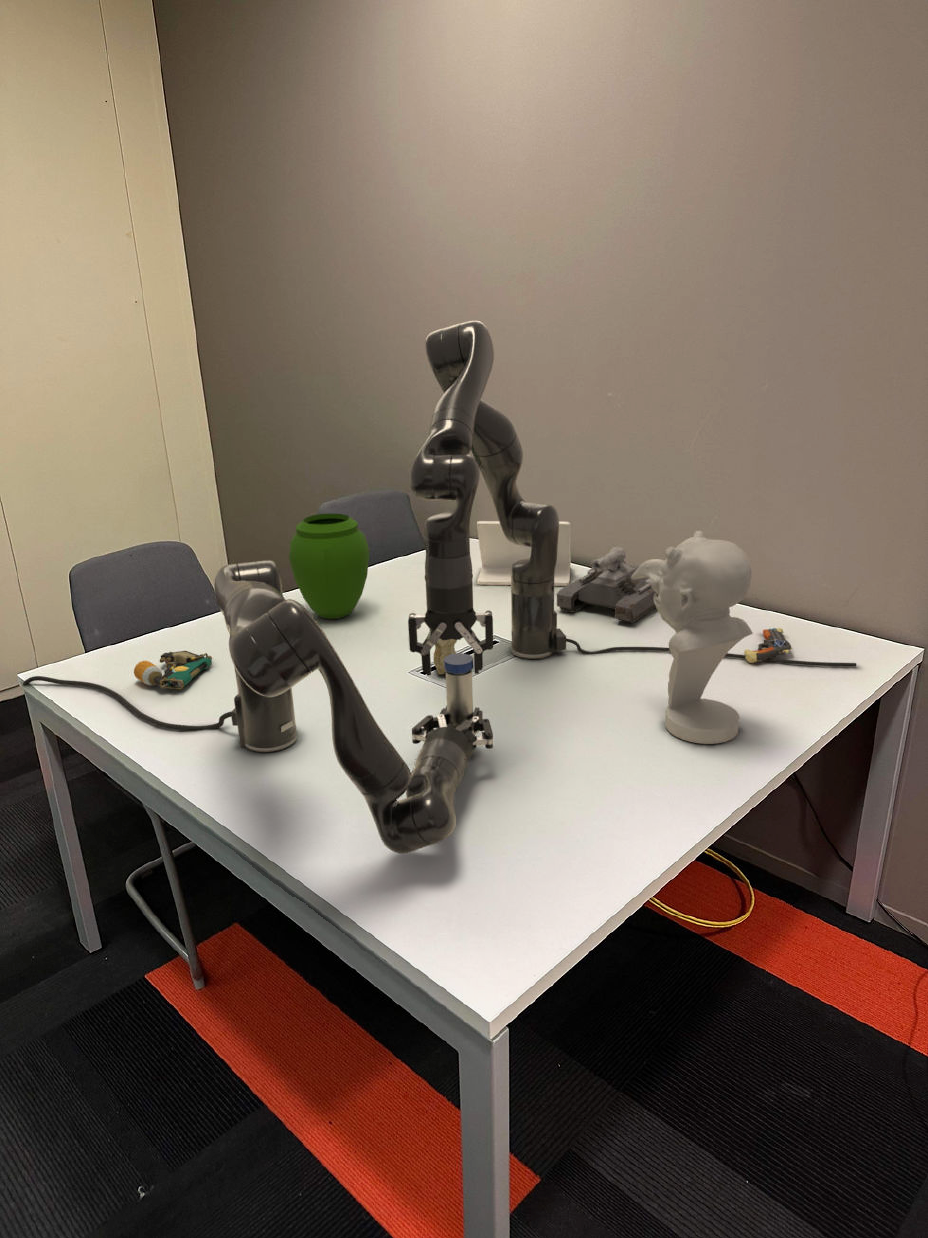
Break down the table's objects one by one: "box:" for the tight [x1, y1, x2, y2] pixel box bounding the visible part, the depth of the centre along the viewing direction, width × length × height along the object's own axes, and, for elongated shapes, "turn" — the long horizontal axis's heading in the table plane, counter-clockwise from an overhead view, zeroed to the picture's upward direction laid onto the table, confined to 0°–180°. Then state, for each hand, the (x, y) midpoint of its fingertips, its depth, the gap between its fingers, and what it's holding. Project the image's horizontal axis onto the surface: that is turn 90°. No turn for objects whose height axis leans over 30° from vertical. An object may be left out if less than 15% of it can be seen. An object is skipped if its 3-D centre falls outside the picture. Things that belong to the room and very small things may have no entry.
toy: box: [556, 546, 656, 624], centre depth 212 cm, size 25×20×15 cm
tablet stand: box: [476, 520, 572, 587], centre depth 236 cm, size 18×25×17 cm
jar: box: [445, 669, 475, 758], centre depth 144 cm, size 4×4×17 cm
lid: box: [444, 652, 474, 674], centre depth 141 cm, size 5×5×2 cm
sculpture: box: [429, 628, 458, 675], centre depth 177 cm, size 6×7×15 cm
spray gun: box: [133, 650, 213, 690], centre depth 180 cm, size 4×17×15 cm
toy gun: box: [743, 627, 794, 664], centre depth 185 cm, size 3×19×10 cm
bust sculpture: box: [631, 530, 754, 745], centre depth 151 cm, size 16×24×35 cm, turn 28°
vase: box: [288, 512, 370, 620], centre depth 209 cm, size 20×20×24 cm
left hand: (463, 711), depth 147 cm, fingers closed on jar, 4 cm apart
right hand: (452, 672), depth 142 cm, fingers open, 7 cm apart
